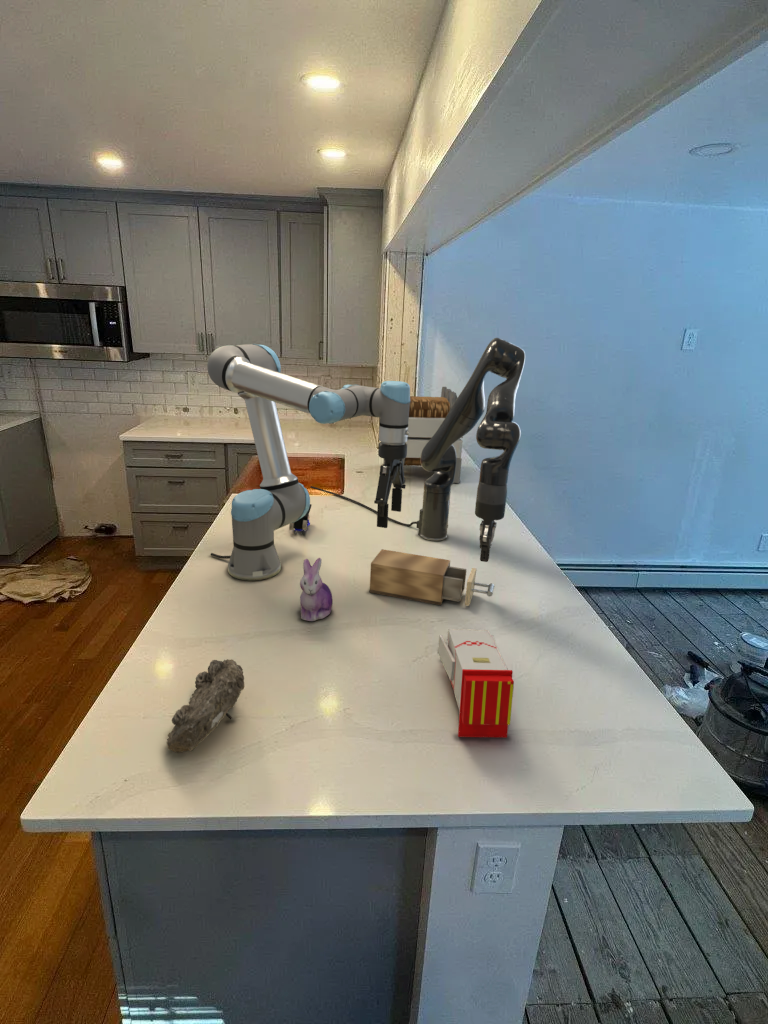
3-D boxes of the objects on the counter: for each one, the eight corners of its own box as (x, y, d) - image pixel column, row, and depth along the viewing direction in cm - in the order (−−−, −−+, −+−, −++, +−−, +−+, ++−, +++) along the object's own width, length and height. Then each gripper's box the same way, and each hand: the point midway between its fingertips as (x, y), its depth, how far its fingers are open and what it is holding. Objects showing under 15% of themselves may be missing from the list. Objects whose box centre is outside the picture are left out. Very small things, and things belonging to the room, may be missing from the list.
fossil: (192, 660, 117) (244, 628, 112) (224, 691, 120) (276, 661, 115) (142, 746, 98) (202, 712, 93) (182, 779, 101) (242, 748, 96)
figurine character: (308, 540, 194) (312, 520, 207) (307, 521, 190) (312, 501, 204) (288, 540, 194) (294, 519, 207) (287, 520, 190) (293, 501, 204)
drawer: (493, 594, 158) (496, 571, 155) (490, 610, 150) (492, 586, 147) (408, 579, 164) (410, 557, 162) (400, 593, 156) (401, 570, 154)
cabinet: (447, 588, 162) (450, 560, 159) (440, 605, 153) (443, 575, 150) (380, 577, 167) (381, 549, 164) (369, 592, 158) (370, 563, 155)
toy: (488, 613, 130) (523, 677, 101) (484, 667, 133) (517, 744, 104) (435, 612, 130) (455, 676, 101) (432, 666, 133) (451, 743, 103)
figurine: (305, 626, 140) (305, 571, 134) (291, 607, 148) (291, 554, 143) (340, 618, 144) (341, 564, 139) (325, 600, 152) (325, 549, 147)
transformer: (382, 463, 289) (386, 382, 275) (445, 464, 293) (451, 384, 279) (390, 482, 257) (394, 392, 243) (460, 483, 261) (468, 394, 247)
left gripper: (393, 454, 135) (389, 536, 142) (418, 434, 158) (413, 506, 165) (364, 451, 137) (361, 532, 144) (392, 432, 160) (389, 503, 167)
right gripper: (503, 508, 138) (495, 573, 144) (508, 493, 150) (501, 553, 156) (472, 504, 140) (466, 568, 146) (480, 489, 152) (473, 549, 157)
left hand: (389, 518), depth 155 cm, fingers open, 13 cm apart
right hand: (484, 560), depth 151 cm, fingers closed
